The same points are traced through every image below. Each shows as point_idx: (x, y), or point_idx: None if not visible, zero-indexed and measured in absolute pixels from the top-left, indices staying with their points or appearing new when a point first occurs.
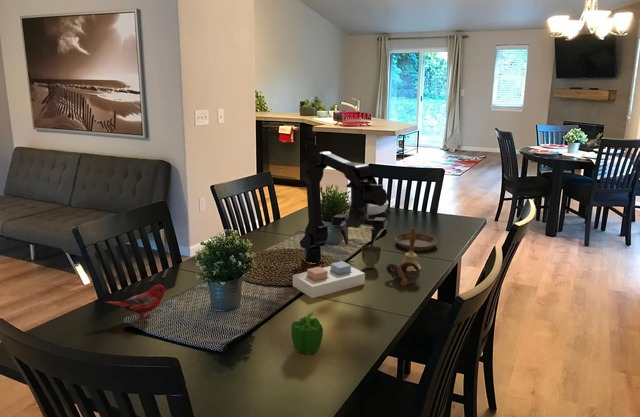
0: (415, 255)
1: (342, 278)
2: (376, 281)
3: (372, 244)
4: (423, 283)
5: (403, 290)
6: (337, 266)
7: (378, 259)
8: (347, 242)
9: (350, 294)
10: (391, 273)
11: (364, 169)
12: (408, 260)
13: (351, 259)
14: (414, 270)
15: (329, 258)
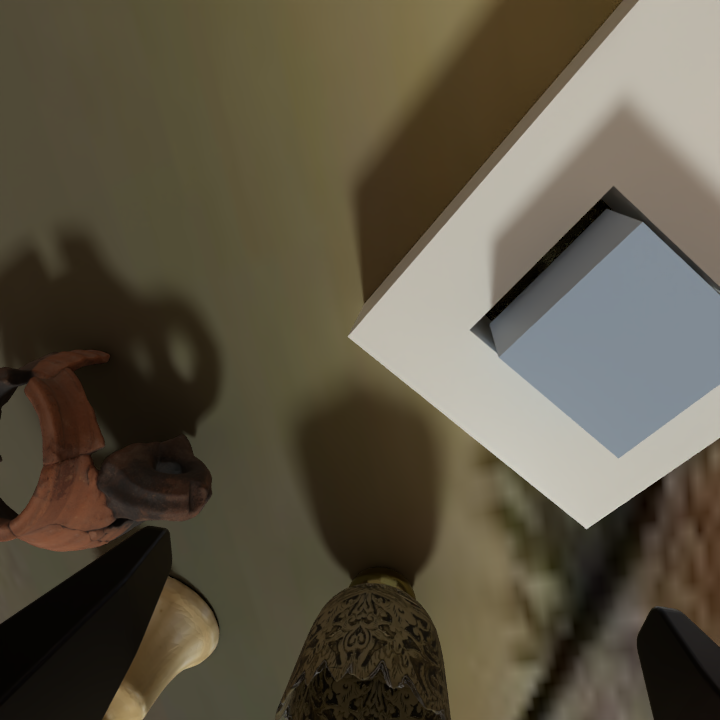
0: None
1: (562, 110)
2: (288, 378)
3: (102, 557)
4: (7, 420)
5: (70, 271)
6: (674, 275)
7: (310, 630)
8: (655, 665)
9: (440, 24)
10: (182, 458)
11: None
12: None
13: (530, 683)
14: None
15: None
